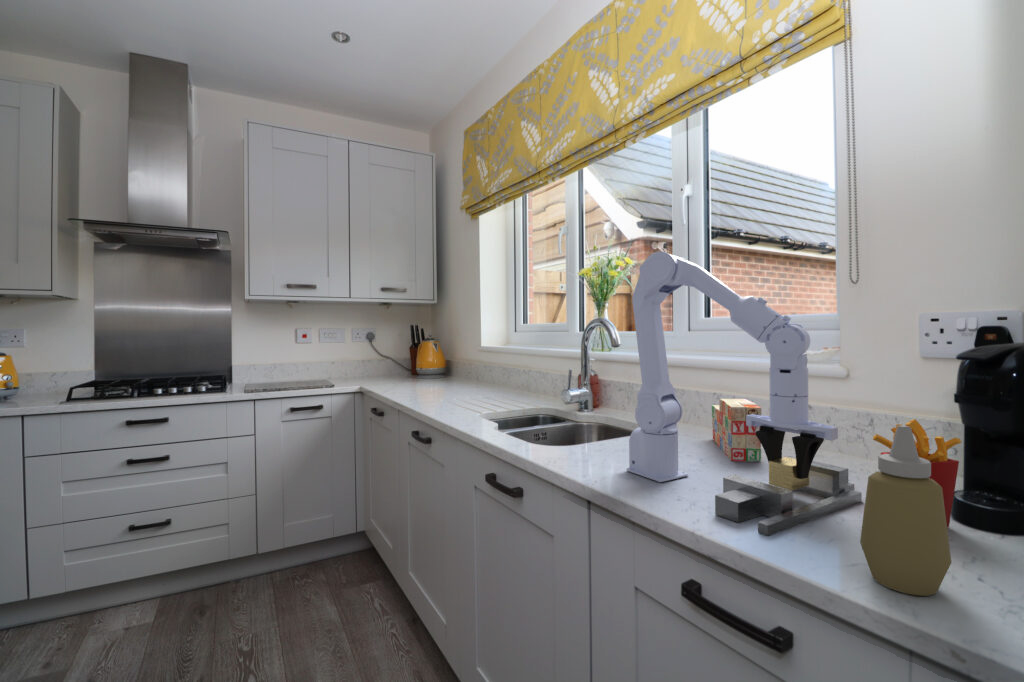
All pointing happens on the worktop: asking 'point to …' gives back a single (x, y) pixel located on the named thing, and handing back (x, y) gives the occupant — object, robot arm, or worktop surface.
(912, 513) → the squeeze bottle
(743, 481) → the sliding jaw
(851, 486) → the vise
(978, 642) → the worktop surface
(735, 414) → the stack of blocks
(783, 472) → the brass block
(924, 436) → the french fries
